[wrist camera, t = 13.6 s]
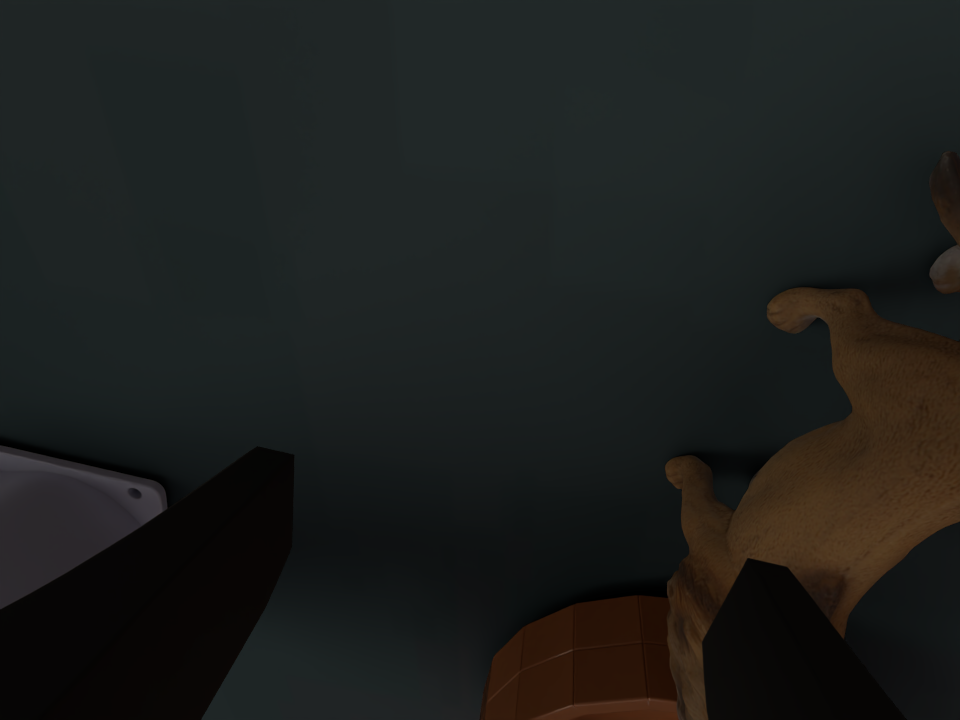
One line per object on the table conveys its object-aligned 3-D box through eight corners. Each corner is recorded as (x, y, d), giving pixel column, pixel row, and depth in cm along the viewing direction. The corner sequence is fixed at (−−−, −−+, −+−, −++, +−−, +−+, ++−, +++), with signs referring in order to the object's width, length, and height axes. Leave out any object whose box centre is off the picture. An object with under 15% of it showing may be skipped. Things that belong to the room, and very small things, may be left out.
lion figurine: (765, 586, 22) (866, 901, 14) (618, 547, 22) (638, 839, 14) (1042, 172, 15) (1559, 358, 7) (820, 116, 15) (1085, 236, 7)
